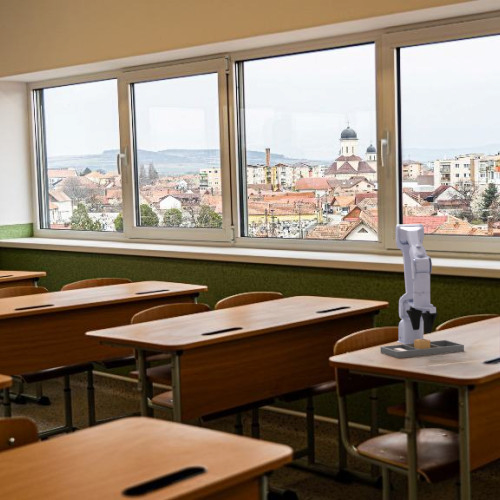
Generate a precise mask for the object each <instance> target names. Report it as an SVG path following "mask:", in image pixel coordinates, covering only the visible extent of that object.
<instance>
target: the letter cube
mask: <svg viewBox="0 0 500 500" xmlns="http://www.w3.org/2000/svg"><path fill="white" fill-rule="evenodd" d="M430 341H431V340H430V339H426V338H424V339H416V340H414V348H418V349H427V348H430Z"/></svg>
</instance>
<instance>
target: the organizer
mask: <svg viewBox="0 0 500 500" xmlns="http://www.w3.org/2000/svg"><path fill="white" fill-rule="evenodd" d="M395 348H401V349H405V350H408V351H399V352H398V351H395V350H394V349H395ZM457 352H458V353H459V352H465V344H462V343H459V342H456V341H455V342H454V341H451V340H447V339H442V340H432V341H431V340H430V348H427V349H418V348H414V343H411V344H403V343H400V344H392V345H382V346H380V353H382V354H385V355H386V356H391V357H393V358H395V359H401V358H411V357H420V356H429V355H439V354H447V353H457Z"/></svg>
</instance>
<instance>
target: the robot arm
mask: <svg viewBox="0 0 500 500" xmlns="http://www.w3.org/2000/svg"><path fill="white" fill-rule="evenodd" d="M394 231H395V233H394V234H395V245H396V248H397V249H398V250H400V251H401V253H402V259H403V260H402V262H403V272H404V274H403V275H404V284H405V285H404V287H405V288H404V289H405V293H404V294H402V296H400V297H399V300H398V317H399V318H400V319H401V320H400V321H399V322H398V340H397V341H396V343H400V344H411V343H414V340H416V339H425V338H424V334H432V331H433V326H434V323H435V320H436V319H437V317H438V315H439V314H438V312H437V307H436V306H434V304H432V303H431V274H432V271H433V262H432V258H431V256H429V255H428V254H427V250H426V247H425V246H424V245H423V241H424V237H425V227H424V225H423V224H422V223H411V224H410V223H407V224H404V223H403V224H400V223H397V224H396V225H395V230H394Z"/></svg>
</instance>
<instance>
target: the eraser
mask: <svg viewBox="0 0 500 500" xmlns="http://www.w3.org/2000/svg"><path fill="white" fill-rule="evenodd" d="M394 350H395V351H398V352H399V351H408V350H405V349H401V348H395V349H394Z"/></svg>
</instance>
